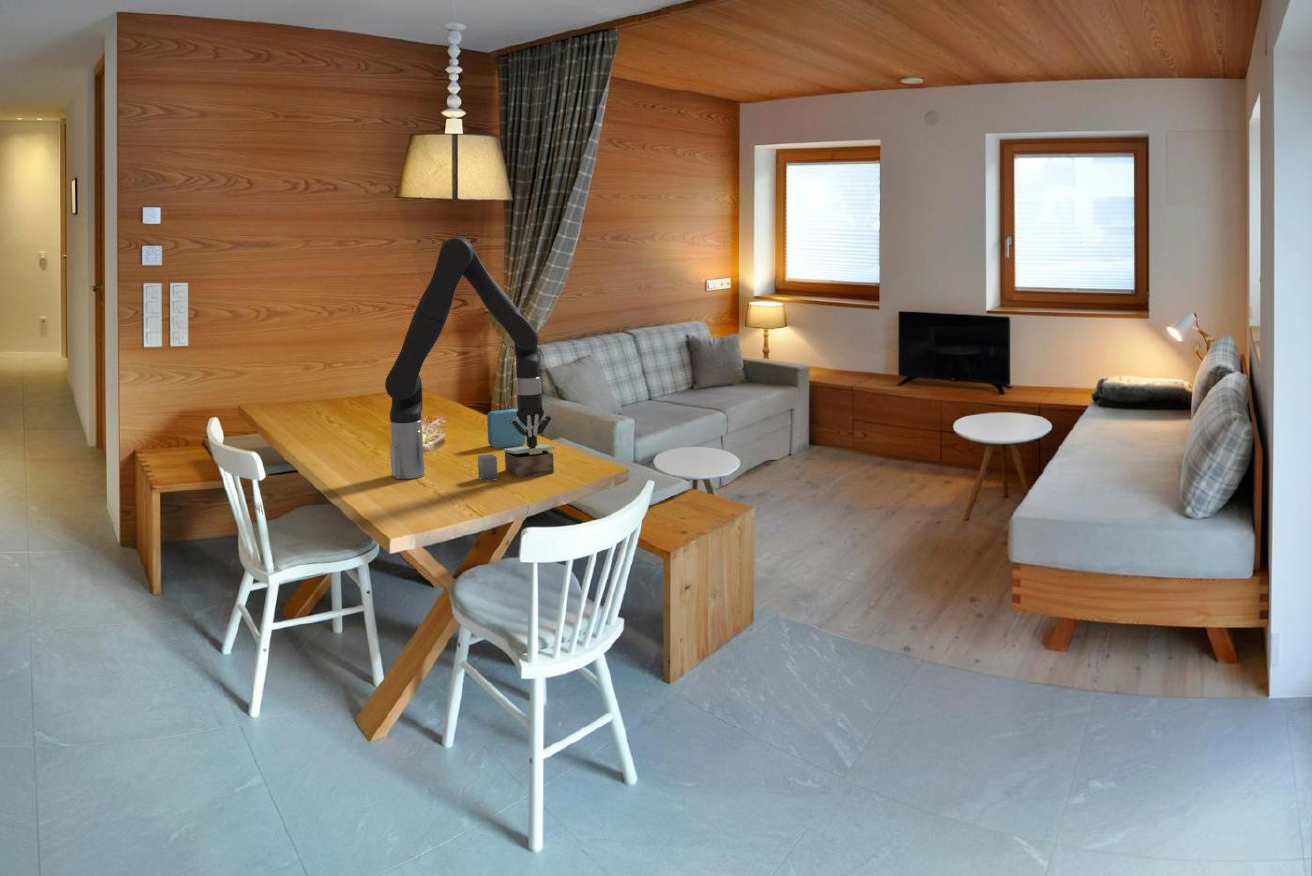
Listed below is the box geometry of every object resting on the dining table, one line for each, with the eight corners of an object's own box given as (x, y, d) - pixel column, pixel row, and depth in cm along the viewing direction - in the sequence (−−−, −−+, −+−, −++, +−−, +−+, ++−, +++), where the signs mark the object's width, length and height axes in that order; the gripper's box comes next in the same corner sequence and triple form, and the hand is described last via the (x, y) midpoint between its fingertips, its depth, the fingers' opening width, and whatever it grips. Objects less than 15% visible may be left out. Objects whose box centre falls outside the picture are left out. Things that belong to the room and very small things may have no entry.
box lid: (516, 456, 314) (515, 450, 313) (503, 453, 323) (503, 448, 323) (555, 451, 319) (555, 446, 319) (542, 448, 329) (542, 443, 329)
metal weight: (483, 481, 312) (482, 458, 311) (478, 478, 316) (477, 455, 315) (497, 479, 314) (496, 457, 313) (492, 476, 318) (491, 453, 317)
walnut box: (516, 477, 316) (516, 458, 315) (505, 470, 325) (504, 451, 324) (553, 472, 322) (553, 453, 320) (541, 465, 330) (541, 447, 329)
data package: (521, 442, 363) (520, 408, 360) (526, 444, 359) (524, 410, 356) (488, 446, 357) (486, 411, 355) (492, 448, 353) (491, 413, 351)
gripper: (512, 395, 309) (515, 453, 313) (554, 391, 315) (557, 447, 319) (503, 392, 316) (507, 448, 319) (544, 388, 322) (547, 443, 325)
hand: (532, 448), depth 319 cm, fingers closed
